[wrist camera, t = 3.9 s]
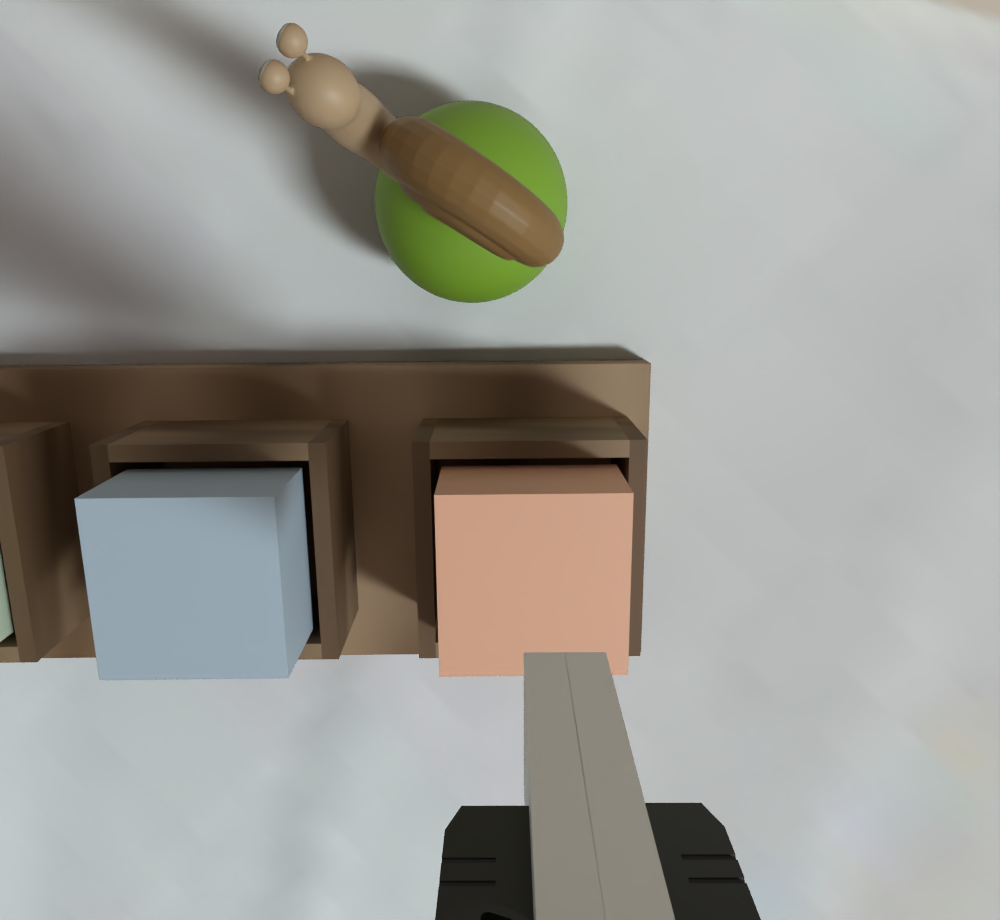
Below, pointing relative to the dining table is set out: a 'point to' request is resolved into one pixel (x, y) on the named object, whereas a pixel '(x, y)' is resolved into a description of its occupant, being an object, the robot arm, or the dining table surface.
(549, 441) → the wooden socket tray
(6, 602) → the sage key
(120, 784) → the dining table surface
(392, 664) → the dining table surface
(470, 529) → the terracotta key
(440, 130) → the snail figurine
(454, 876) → the robot arm
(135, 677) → the slate key
